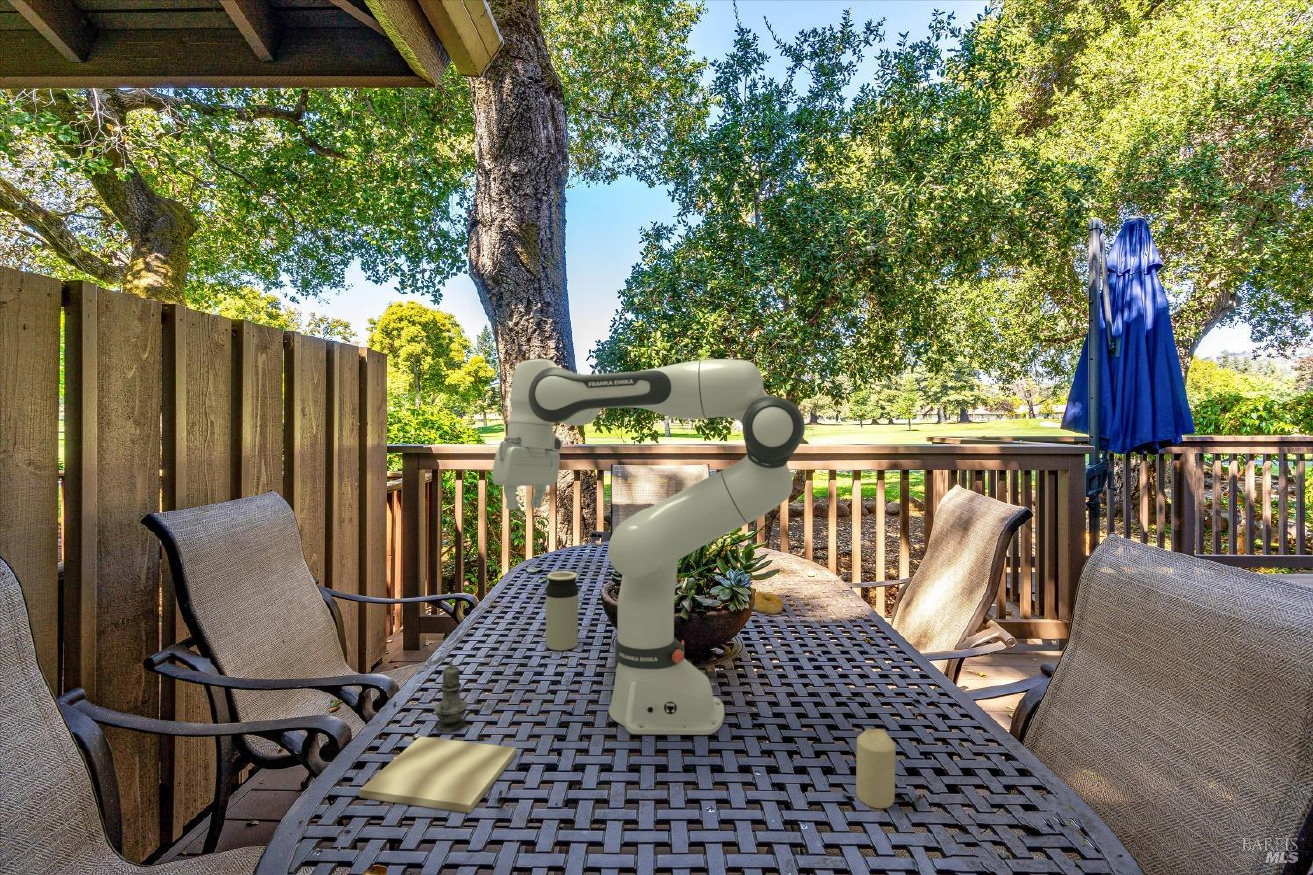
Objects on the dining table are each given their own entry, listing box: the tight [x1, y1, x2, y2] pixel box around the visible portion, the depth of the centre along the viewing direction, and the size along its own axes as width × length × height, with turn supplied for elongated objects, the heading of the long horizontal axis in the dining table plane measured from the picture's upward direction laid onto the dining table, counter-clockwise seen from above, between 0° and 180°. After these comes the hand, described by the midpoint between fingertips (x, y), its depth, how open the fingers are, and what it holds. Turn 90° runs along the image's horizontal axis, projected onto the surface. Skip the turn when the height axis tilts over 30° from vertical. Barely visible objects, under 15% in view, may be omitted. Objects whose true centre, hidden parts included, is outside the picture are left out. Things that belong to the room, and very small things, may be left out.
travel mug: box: [545, 570, 579, 652], centre depth 156 cm, size 8×8×18 cm
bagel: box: [754, 591, 785, 616], centre depth 188 cm, size 10×11×5 cm
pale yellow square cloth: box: [358, 736, 517, 814], centre depth 99 cm, size 18×16×1 cm
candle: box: [855, 728, 896, 809], centre depth 94 cm, size 6×6×10 cm
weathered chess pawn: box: [434, 661, 469, 734], centre depth 115 cm, size 6×6×12 cm
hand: (524, 508), depth 124 cm, fingers open, 8 cm apart
